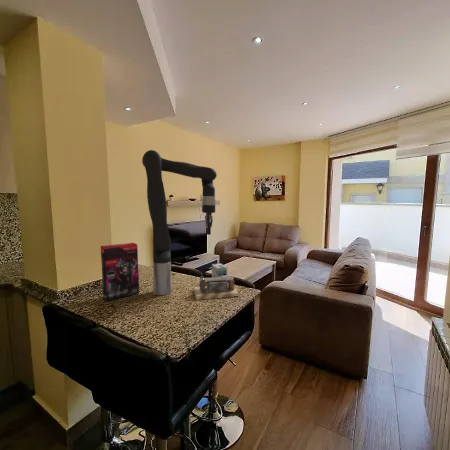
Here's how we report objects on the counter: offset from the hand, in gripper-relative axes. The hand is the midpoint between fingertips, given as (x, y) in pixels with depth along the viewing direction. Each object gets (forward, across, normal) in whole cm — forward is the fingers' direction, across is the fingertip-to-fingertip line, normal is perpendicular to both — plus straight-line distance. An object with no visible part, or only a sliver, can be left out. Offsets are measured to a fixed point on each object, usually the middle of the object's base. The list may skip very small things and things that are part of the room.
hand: (208, 234), depth 144 cm
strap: (+24, +11, +3) cm, 26 cm away
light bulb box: (+31, -7, +8) cm, 33 cm away
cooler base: (+31, +11, +2) cm, 33 cm away
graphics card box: (+31, +5, -47) cm, 57 cm away
